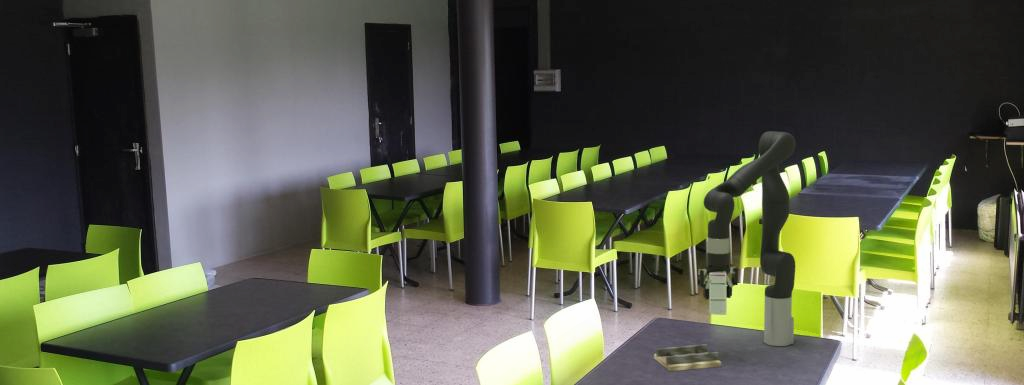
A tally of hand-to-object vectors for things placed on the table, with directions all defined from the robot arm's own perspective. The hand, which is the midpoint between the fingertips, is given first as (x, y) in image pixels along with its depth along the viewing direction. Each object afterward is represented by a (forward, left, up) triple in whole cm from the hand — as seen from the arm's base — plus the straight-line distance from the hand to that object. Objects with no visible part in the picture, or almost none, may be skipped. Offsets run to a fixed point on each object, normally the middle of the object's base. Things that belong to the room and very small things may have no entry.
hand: (717, 298), depth 302 cm
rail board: (+12, +3, -20) cm, 24 cm away
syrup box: (0, 0, -5) cm, 5 cm away
